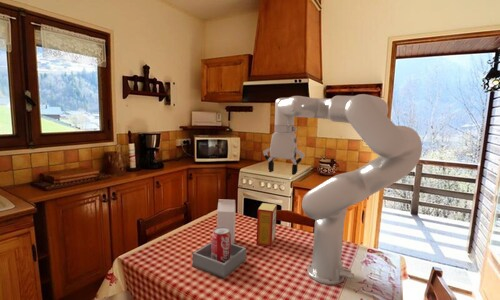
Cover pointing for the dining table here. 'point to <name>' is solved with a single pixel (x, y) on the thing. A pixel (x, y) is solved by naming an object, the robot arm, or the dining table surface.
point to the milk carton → (227, 216)
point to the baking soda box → (266, 224)
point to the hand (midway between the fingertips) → (282, 172)
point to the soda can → (221, 244)
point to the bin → (217, 268)
